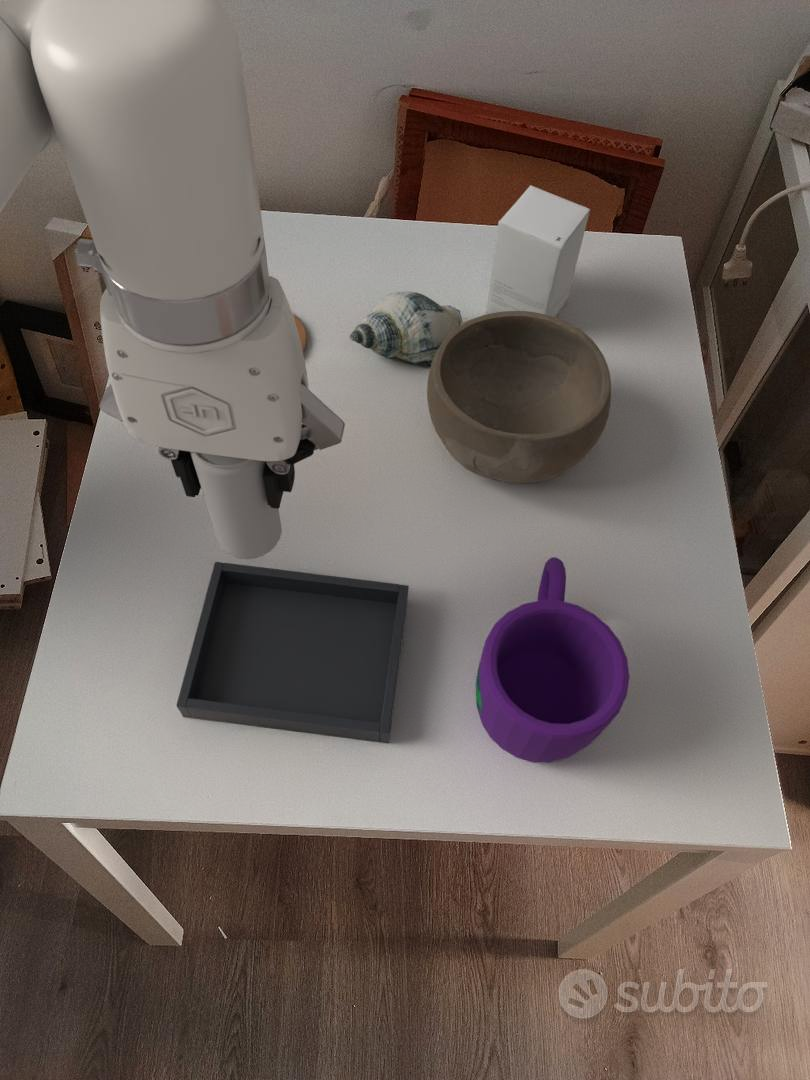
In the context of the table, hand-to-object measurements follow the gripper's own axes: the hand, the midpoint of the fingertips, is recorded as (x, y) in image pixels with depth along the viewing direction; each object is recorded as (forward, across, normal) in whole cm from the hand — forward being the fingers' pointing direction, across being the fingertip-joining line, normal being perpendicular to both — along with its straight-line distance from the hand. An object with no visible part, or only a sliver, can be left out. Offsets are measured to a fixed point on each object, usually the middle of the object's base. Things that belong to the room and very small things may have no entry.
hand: (238, 483), depth 55 cm
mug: (+22, +24, -2) cm, 33 cm away
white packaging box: (+22, +21, +43) cm, 53 cm away
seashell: (+23, +8, +35) cm, 43 cm away
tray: (+22, +3, -3) cm, 23 cm away
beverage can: (+7, 0, 0) cm, 7 cm away
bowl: (+22, +20, +24) cm, 39 cm away
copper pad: (+23, -8, +33) cm, 41 cm away
